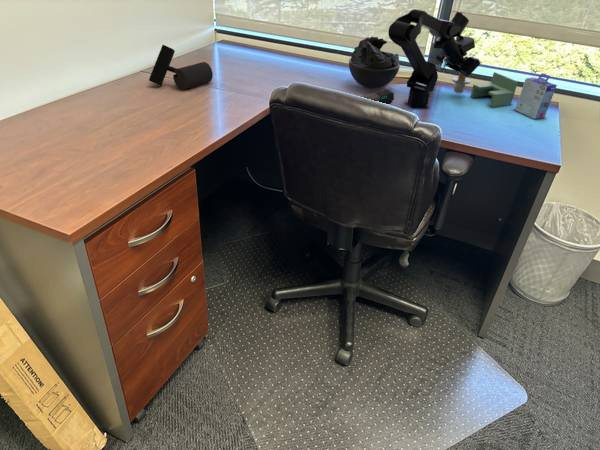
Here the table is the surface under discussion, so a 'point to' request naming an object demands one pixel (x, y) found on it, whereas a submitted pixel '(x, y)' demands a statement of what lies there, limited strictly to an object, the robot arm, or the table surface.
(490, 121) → the table surface
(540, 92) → the ink cartridge box
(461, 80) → the cylinder on round base
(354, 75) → the bowl of black rocks
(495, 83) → the rack
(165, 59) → the track light
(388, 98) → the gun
